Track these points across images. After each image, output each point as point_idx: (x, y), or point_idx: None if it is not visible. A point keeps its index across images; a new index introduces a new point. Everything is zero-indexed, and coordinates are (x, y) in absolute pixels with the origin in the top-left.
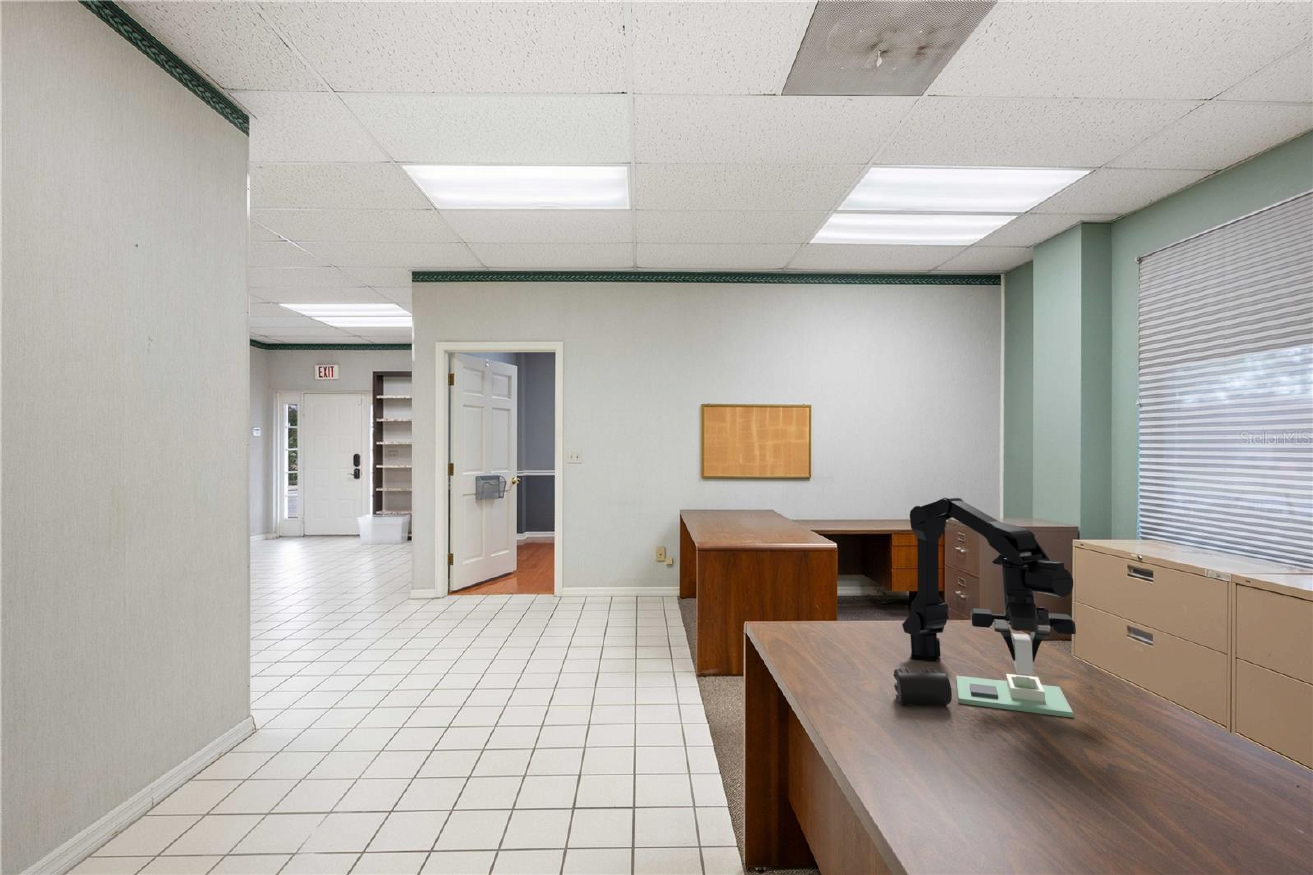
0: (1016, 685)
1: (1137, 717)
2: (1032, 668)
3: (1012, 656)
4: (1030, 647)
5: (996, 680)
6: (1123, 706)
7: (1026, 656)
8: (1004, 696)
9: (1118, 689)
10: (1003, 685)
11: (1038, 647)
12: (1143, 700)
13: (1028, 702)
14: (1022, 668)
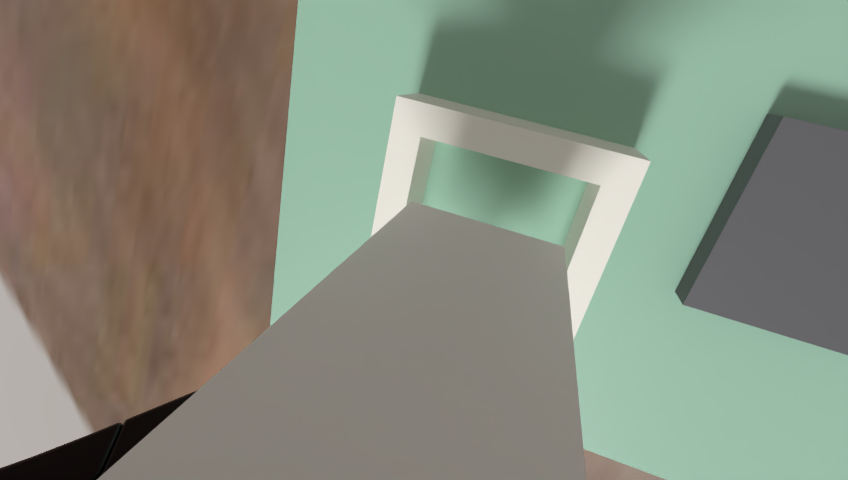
0: None
1: (36, 6)
2: (396, 222)
3: None
4: (222, 407)
5: None
6: (74, 149)
7: (404, 316)
8: (678, 170)
9: (72, 336)
10: None
11: (94, 434)
12: (8, 226)
13: (545, 60)
14: (503, 252)
